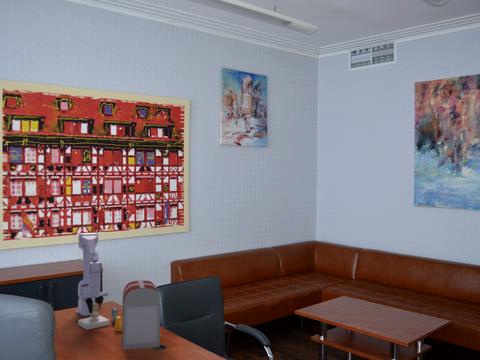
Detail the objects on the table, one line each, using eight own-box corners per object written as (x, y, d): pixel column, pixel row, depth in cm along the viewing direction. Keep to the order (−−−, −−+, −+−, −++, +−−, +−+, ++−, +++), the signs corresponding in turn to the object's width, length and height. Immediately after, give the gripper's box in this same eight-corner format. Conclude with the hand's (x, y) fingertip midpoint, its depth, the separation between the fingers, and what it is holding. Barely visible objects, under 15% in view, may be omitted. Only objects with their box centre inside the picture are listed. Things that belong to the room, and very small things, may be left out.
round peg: (110, 322, 247) (110, 308, 247) (115, 320, 250) (116, 307, 249) (113, 323, 245) (113, 310, 245) (118, 322, 247) (119, 309, 247)
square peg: (89, 317, 242) (90, 303, 242) (95, 315, 244) (96, 302, 244) (92, 318, 240) (93, 304, 240) (98, 317, 242) (98, 303, 242)
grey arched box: (122, 349, 210) (123, 289, 210) (121, 336, 227) (122, 280, 227) (160, 347, 215) (161, 287, 214) (156, 333, 232) (157, 278, 231)
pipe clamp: (140, 331, 234) (140, 318, 234) (134, 334, 230) (135, 321, 230) (120, 328, 239) (120, 315, 239) (114, 330, 235) (115, 317, 235)
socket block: (78, 324, 242) (78, 319, 242) (100, 320, 250) (100, 315, 250) (86, 329, 235) (87, 324, 235) (109, 324, 243) (109, 320, 243)
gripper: (84, 289, 234) (83, 316, 235) (111, 284, 244) (110, 311, 244) (78, 286, 239) (77, 313, 240) (104, 282, 249) (104, 308, 250)
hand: (94, 312), depth 242 cm, fingers closed on square peg, 3 cm apart
